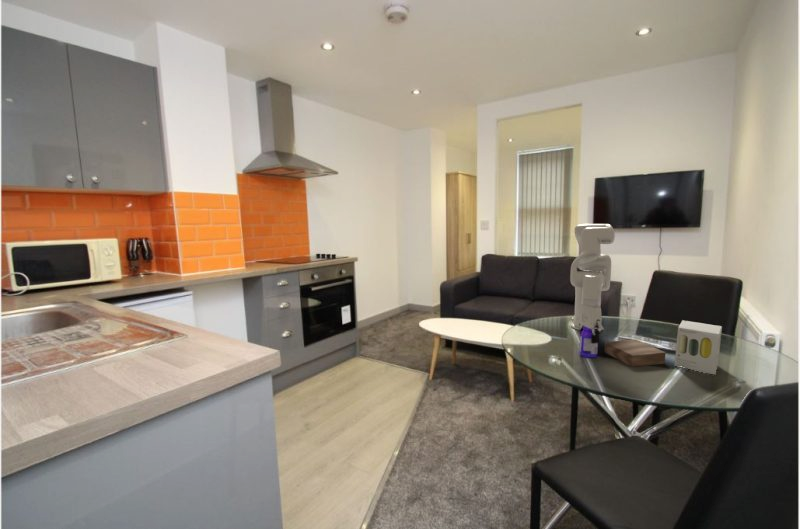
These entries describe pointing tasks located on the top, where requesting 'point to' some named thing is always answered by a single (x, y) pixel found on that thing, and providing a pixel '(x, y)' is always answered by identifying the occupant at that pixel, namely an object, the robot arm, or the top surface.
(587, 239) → the robot arm
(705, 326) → the supplement box
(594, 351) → the bottle
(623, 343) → the plinth
